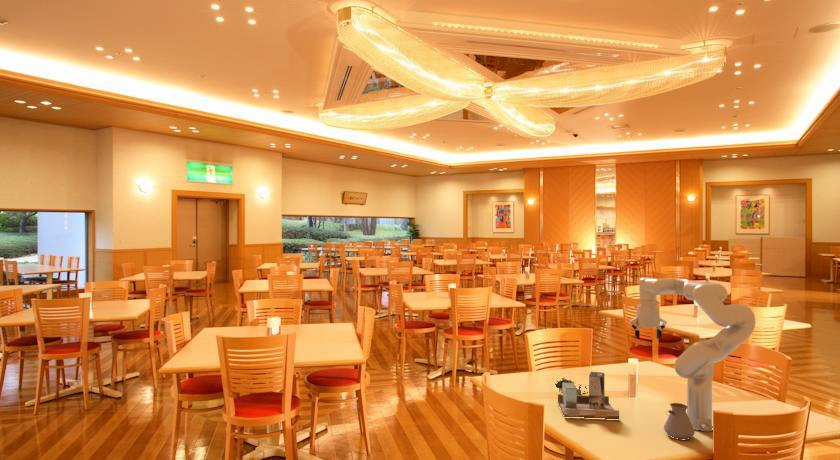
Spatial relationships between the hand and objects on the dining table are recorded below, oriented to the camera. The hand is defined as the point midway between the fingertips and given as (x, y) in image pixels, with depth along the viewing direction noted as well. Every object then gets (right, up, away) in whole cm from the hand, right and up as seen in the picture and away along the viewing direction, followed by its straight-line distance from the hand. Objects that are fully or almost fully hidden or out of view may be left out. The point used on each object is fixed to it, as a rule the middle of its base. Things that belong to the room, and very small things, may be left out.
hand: (648, 338), depth 239 cm
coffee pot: (-6, -34, -38) cm, 51 cm away
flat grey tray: (-32, -34, -7) cm, 47 cm away
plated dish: (-30, -34, +25) cm, 52 cm away
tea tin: (-40, -32, -5) cm, 51 cm away
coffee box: (-27, -32, -7) cm, 42 cm away
